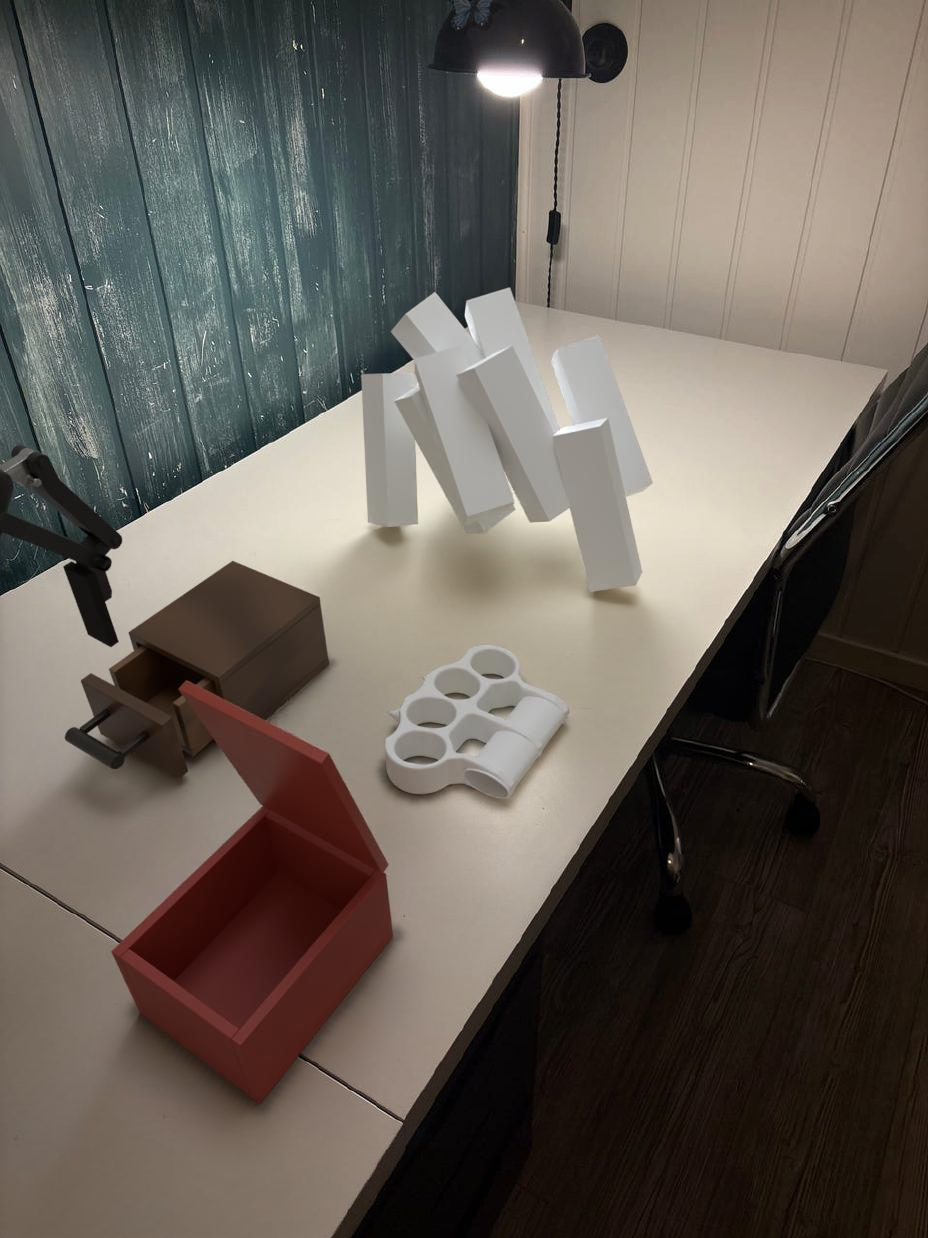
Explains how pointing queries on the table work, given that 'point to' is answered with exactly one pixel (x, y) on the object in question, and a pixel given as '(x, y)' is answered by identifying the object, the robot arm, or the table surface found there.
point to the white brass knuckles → (472, 726)
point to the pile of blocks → (505, 433)
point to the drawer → (143, 713)
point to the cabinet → (242, 636)
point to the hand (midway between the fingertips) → (26, 690)
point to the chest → (257, 949)
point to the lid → (287, 775)
